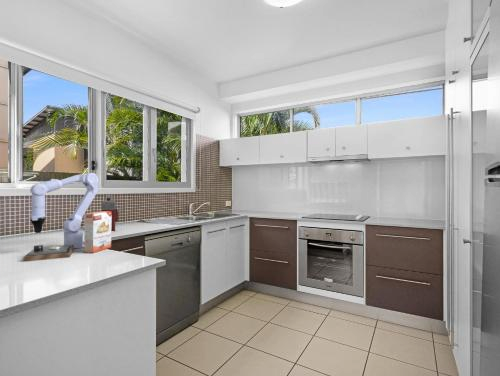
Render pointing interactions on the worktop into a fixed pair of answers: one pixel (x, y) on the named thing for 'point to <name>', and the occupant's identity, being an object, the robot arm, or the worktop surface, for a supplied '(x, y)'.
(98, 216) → the cracker box
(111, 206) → the toy vending machine
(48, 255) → the base
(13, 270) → the worktop surface
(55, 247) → the plate
